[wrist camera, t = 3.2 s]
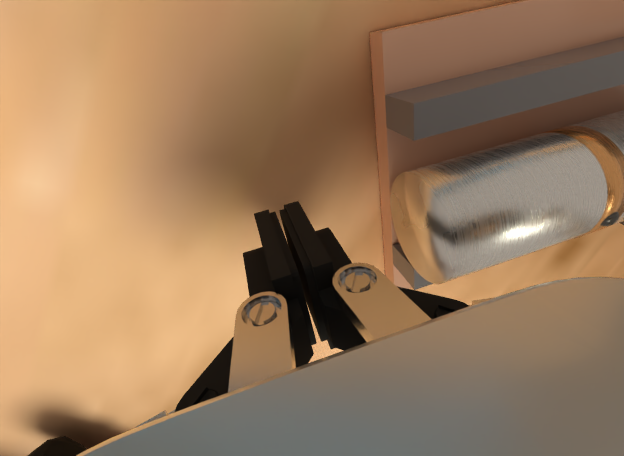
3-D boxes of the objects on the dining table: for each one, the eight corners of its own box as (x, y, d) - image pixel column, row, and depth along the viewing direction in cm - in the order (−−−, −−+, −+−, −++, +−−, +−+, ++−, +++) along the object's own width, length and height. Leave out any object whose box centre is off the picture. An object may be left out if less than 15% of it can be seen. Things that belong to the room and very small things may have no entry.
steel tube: (668, 74, 14) (809, 124, 11) (609, 159, 17) (706, 216, 14) (395, 149, 12) (472, 233, 9) (386, 228, 16) (441, 310, 12)
